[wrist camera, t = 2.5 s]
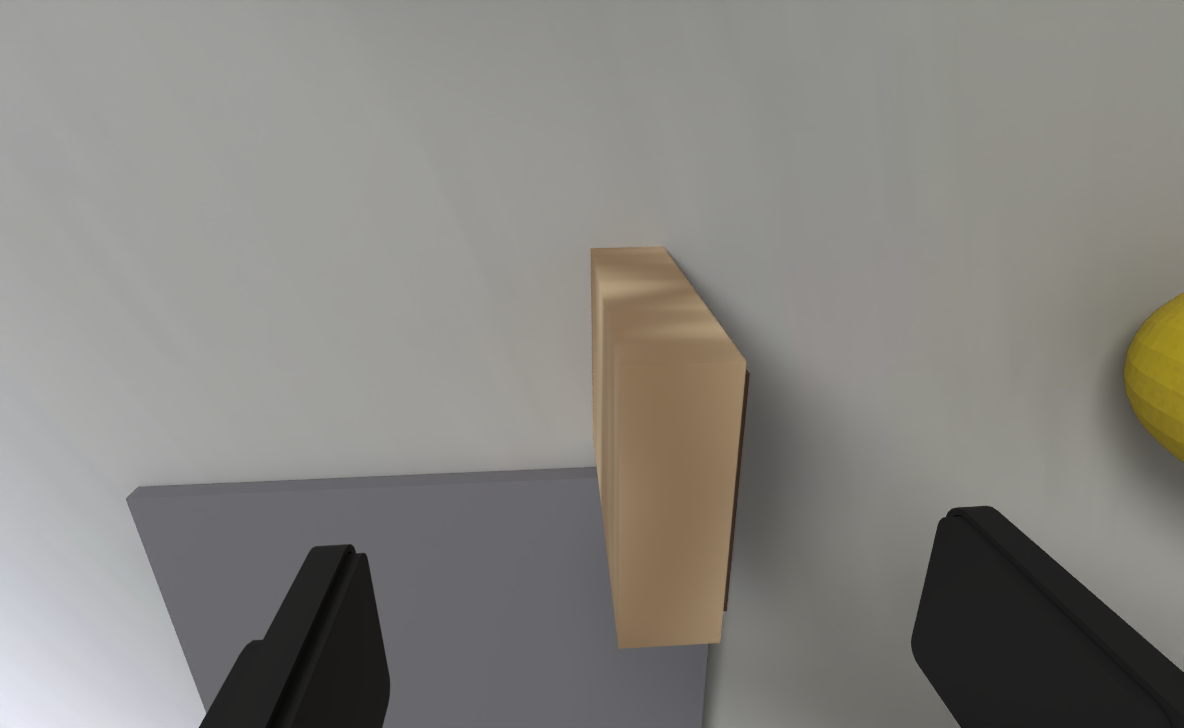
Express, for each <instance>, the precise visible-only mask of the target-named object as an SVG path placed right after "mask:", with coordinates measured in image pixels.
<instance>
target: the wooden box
mask: <svg viewBox="0 0 1184 728" xmlns="http://www.w3.org/2000/svg"><path fill="white" fill-rule="evenodd" d="M591 306H592V379H593V440H594V449H595V457H596V466H597V474H598V482H599V491H600V499H601V507H602V516H603V524H604V532H605V541H606V549H607V558H608V566H609V574H610V583H611V591H612V599H613V608H614V616H615V624H616V633H617V641H618V649H623V648H640V647H657V646H675V645H692V644H709V643H720V639H721V628H722V618H723V611H727V601H728V591H729V580H730V570H731V560H732V549H733V539H734V529H735V518H736V508H737V498H738V487H739V477H740V467H741V456H742V446H743V436H744V426H745V415H746V405H747V395H748V384H749V372H748V371H747V369H746V363H747V361H746V360H745V359H744V357H743V356H742V355H741V353H740V352H739V350H738V349H737V348H736V346H735V345H734V343H733V342H732V341H731V339H730V338H729V337H728V335H727V334H726V332H725V331H724V330H723V328H722V327H721V326H720V324H719V323H718V321H717V320H716V319H715V317H714V316H713V314H712V313H711V312H710V310H709V309H708V308H707V306H706V305H705V303H704V302H703V301H702V299H701V298H700V297H699V295H698V294H697V292H696V291H695V290H694V288H693V287H692V285H691V284H690V283H689V281H688V280H687V279H686V277H685V276H684V274H683V273H682V272H681V270H680V269H679V268H678V266H677V265H676V263H675V262H674V261H673V259H672V258H671V256H670V255H669V254H668V252H667V251H666V250H665V248H664V247H629V248H591Z"/></svg>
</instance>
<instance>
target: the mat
mask: <svg viewBox="0 0 1184 728" xmlns="http://www.w3.org/2000/svg"><path fill="white" fill-rule="evenodd" d="M126 501H127V503H128V506H129V509H130V511H131V514H132V517H133V519H134V522H135V524H136V527H137V530H138V532H139V535H140V538H141V540H142V543H143V546H144V548H145V551H146V554H147V556H148V559H149V562H150V564H151V567H152V570H153V572H154V575H155V578H156V580H157V583H158V586H159V588H160V591H161V594H162V596H163V599H164V602H165V604H166V607H167V610H168V612H169V615H170V618H171V620H172V623H173V626H174V628H175V631H176V634H177V636H178V639H179V642H180V644H181V647H182V650H183V652H184V655H185V657H186V660H187V663H188V665H189V668H190V671H191V673H192V676H193V679H194V681H195V684H196V687H197V689H198V692H199V695H200V697H201V700H202V703H203V705H204V708H205V711H206V713H207V712H208V710H209V708H210V707H211V705H212V703H213V701H214V699H215V698H216V696H217V694H218V692H219V690H220V689H221V687H222V685H223V683H224V681H225V680H226V678H227V676H228V674H229V672H230V671H231V669H232V667H233V665H234V663H235V662H236V660H237V658H238V656H239V654H240V653H241V652H242V650H243V649H244V647H245V646H246V645H247V644H248V643H250V642H251V641H252V640H263V638H264V636H265V635H266V633H267V631H268V629H269V627H270V625H271V623H272V621H273V619H274V618H275V616H276V614H277V612H278V610H279V608H280V606H281V604H282V602H283V600H284V599H285V597H286V595H287V593H288V591H289V589H290V587H291V585H292V583H293V581H294V580H295V578H296V576H297V574H298V572H299V570H300V568H301V566H302V564H303V562H304V561H305V559H306V557H307V555H308V553H309V551H310V550H311V549H312V548H313V547H315V546H326V545H343V544H351V545H353V546H354V548H355V550H356V553H366V555H367V558H368V562H369V567H370V573H371V578H372V583H373V589H374V594H375V600H376V605H377V611H378V616H379V621H380V627H381V632H382V638H383V643H384V648H385V654H386V659H387V665H388V670H389V675H390V698H389V703H388V708H387V712H386V716H385V719H384V723H383V727H382V728H702V717H703V705H704V693H705V681H706V669H707V657H708V645H709V644H692V645H675V646H657V647H640V648H623V649H618V641H617V633H616V624H615V616H614V608H613V599H612V591H611V583H610V574H609V566H608V558H607V549H606V541H605V532H604V524H603V516H602V507H601V499H600V491H599V482H598V474H597V467H589V468H566V469H543V470H520V471H497V472H473V473H450V474H427V475H404V476H381V477H358V478H335V479H312V480H288V481H265V482H242V483H219V484H196V485H173V486H150V487H138V488H136V489H135V490H134V491H133V492H132V493H131V494H130V495H129V496H128V497H127V498H126Z"/></svg>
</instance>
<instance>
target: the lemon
mask: <svg viewBox="0 0 1184 728" xmlns="http://www.w3.org/2000/svg"><path fill="white" fill-rule="evenodd" d="M1124 379H1125V388H1126V394H1127V396H1128V399H1129V401H1130V403H1131V405H1132V408H1133V410H1134V412H1135V414H1136V416H1137V418H1138V419H1139V421H1140V422H1141V424H1142V425H1143V426H1144V427H1145V429H1146V430H1147V431H1148V432H1149V433H1150V434H1151V435H1152V436H1153V437H1154V438H1155V439H1156V440H1157V441H1158V442H1159V443H1160V444H1161V445H1163V446H1164V447H1165V448H1166V449H1167V450H1168V451H1169V452H1170V453H1172V454H1173V455H1174V456H1175V457H1176V458H1178V459H1179V460H1181V461H1182V462H1183V463H1184V293H1182V294H1180V295H1178V296H1177V297H1175V298H1174V299H1172V300H1171V301H1169V302H1168V303H1166V304H1165V305H1163V306H1162V307H1160V308H1159V309H1158V310H1156V311H1155V312H1154V313H1153V314H1152V315H1151V316H1150V317H1149V318H1148V319H1147V320H1146V321H1145V322H1144V323H1143V325H1142V326H1141V328H1140V329H1139V330H1138V332H1137V333H1136V334H1135V336H1134V338H1133V340H1132V342H1131V344H1130V347H1129V349H1128V352H1127V357H1126V361H1125V367H1124Z"/></svg>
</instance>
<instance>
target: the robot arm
mask: <svg viewBox="0 0 1184 728" xmlns="http://www.w3.org/2000/svg"><path fill="white" fill-rule="evenodd" d="M911 647H912V652H913V655H914V658H915V660H916V662H917V664H918V665H919V667H920V668H921V670H922V671H923V673H924V674H925V676H926V677H927V678H928V680H929V681H930V683H931V684H932V686H933V687H934V689H935V690H936V692H937V693H938V695H939V696H940V697H941V699H942V700H943V702H944V703H945V705H946V706H947V708H948V709H949V711H950V712H951V714H952V715H953V716H954V718H955V719H956V721H957V722H958V724H959V725H960V727H961V728H1184V672H1183V671H1181V670H1180V669H1179V668H1178V667H1177V666H1176V665H1174V664H1173V663H1172V662H1171V661H1170V660H1169V659H1168V658H1166V657H1165V656H1164V655H1163V654H1162V653H1161V652H1160V651H1158V650H1157V649H1156V648H1155V647H1154V646H1153V645H1151V644H1150V643H1149V642H1148V641H1147V640H1146V639H1145V638H1143V637H1142V636H1141V635H1140V634H1139V633H1138V632H1137V631H1135V630H1134V629H1133V628H1132V627H1131V626H1130V625H1128V624H1127V623H1126V622H1125V621H1124V620H1123V619H1122V618H1120V617H1119V616H1118V615H1117V614H1116V613H1115V612H1114V611H1112V610H1111V609H1110V608H1109V607H1108V606H1107V605H1105V604H1104V603H1103V602H1102V601H1101V600H1100V599H1099V598H1097V597H1096V596H1095V595H1094V594H1093V593H1092V592H1091V591H1089V590H1088V589H1087V588H1086V587H1085V586H1084V585H1082V584H1081V583H1080V582H1079V581H1078V580H1077V579H1076V578H1074V577H1073V576H1072V575H1071V574H1070V573H1069V572H1068V571H1066V570H1065V569H1064V568H1063V567H1062V566H1061V565H1059V564H1058V563H1057V562H1056V561H1055V560H1054V559H1053V558H1051V557H1050V556H1049V555H1048V554H1047V553H1046V552H1045V551H1043V550H1042V549H1041V548H1040V547H1039V546H1038V545H1036V544H1035V543H1034V542H1033V541H1032V540H1031V539H1030V538H1028V537H1027V536H1026V535H1025V534H1024V533H1023V532H1022V531H1020V530H1019V529H1018V528H1017V527H1016V526H1015V525H1013V524H1012V523H1011V522H1010V521H1009V520H1008V519H1007V518H1005V517H1004V516H1003V515H1002V514H1001V513H1000V512H999V511H997V510H996V509H994V508H993V507H989V506H976V507H959V508H953V509H951V510H950V511H949V512H948V513H947V516H946V517H945V518H942V519H941V520H940V521H939V523H938V527H937V531H936V535H935V539H934V544H933V548H932V552H931V557H930V561H929V565H928V569H927V574H926V578H925V582H924V587H923V591H922V595H921V599H920V604H919V608H918V612H917V617H916V621H915V625H914V630H913V634H912V639H911ZM389 698H390V675H389V670H388V665H387V659H386V654H385V648H384V643H383V638H382V632H381V627H380V621H379V616H378V611H377V605H376V600H375V594H374V589H373V583H372V578H371V573H370V567H369V562H368V558H367V555H366V553H356V550H355V548H354V546H353V545H351V544H343V545H326V546H315V547H313V548H312V549H311V550H310V551H309V553H308V555H307V557H306V559H305V561H304V562H303V564H302V566H301V568H300V570H299V572H298V574H297V576H296V578H295V580H294V581H293V583H292V585H291V587H290V589H289V591H288V593H287V595H286V597H285V599H284V600H283V602H282V604H281V606H280V608H279V610H278V612H277V614H276V616H275V618H274V619H273V621H272V623H271V625H270V627H269V629H268V631H267V633H266V635H265V636H264V638H263V640H252V641H251V642H250V643H248V644H247V645H246V646H245V647H244V649H243V650H242V652H241V653H240V654H239V656H238V658H237V660H236V662H235V663H234V665H233V667H232V669H231V671H230V672H229V674H228V676H227V678H226V680H225V681H224V683H223V685H222V687H221V689H220V690H219V692H218V694H217V696H216V698H215V699H214V701H213V703H212V705H211V707H210V708H209V710H208V712H207V714H206V716H205V717H204V719H203V721H202V723H201V725H200V726H199V728H382V727H383V723H384V719H385V716H386V712H387V708H388V703H389Z"/></svg>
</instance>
